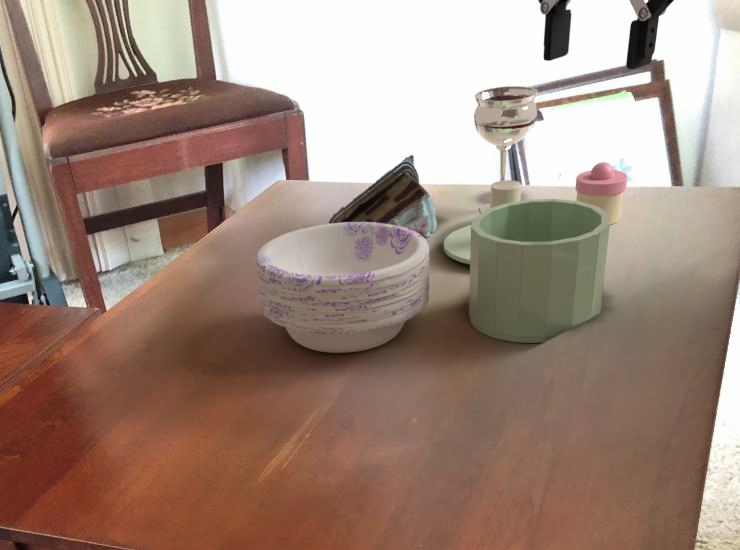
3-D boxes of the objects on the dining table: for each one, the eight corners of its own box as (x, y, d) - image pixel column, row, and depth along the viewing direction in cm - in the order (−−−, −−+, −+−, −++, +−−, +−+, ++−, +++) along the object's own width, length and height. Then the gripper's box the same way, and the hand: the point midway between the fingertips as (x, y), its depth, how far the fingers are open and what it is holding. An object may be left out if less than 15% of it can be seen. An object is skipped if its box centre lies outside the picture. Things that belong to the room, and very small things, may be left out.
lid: (584, 261, 96) (590, 192, 92) (464, 280, 95) (465, 212, 91) (539, 223, 105) (542, 159, 101) (429, 240, 104) (429, 177, 100)
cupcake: (632, 216, 104) (639, 159, 100) (602, 230, 102) (608, 172, 98) (592, 207, 107) (597, 153, 104) (562, 221, 105) (567, 165, 101)
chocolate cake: (352, 263, 103) (429, 169, 98) (320, 228, 106) (393, 136, 102) (398, 298, 110) (472, 212, 105) (367, 264, 114) (437, 180, 109)
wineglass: (466, 202, 113) (468, 90, 105) (524, 196, 113) (530, 83, 105) (477, 221, 108) (480, 104, 100) (537, 214, 108) (545, 96, 100)
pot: (620, 330, 83) (633, 231, 77) (493, 351, 82) (497, 253, 77) (569, 283, 92) (577, 191, 86) (454, 302, 91) (455, 211, 86)
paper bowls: (443, 301, 91) (444, 216, 86) (410, 374, 80) (408, 281, 75) (292, 297, 96) (284, 216, 91) (241, 365, 85) (229, 277, 80)
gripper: (733, -171, 79) (697, 61, 90) (563, -158, 90) (549, 47, 101) (680, -161, 76) (650, 78, 87) (510, -149, 87) (502, 62, 98)
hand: (595, 61), depth 94 cm, fingers open, 9 cm apart
